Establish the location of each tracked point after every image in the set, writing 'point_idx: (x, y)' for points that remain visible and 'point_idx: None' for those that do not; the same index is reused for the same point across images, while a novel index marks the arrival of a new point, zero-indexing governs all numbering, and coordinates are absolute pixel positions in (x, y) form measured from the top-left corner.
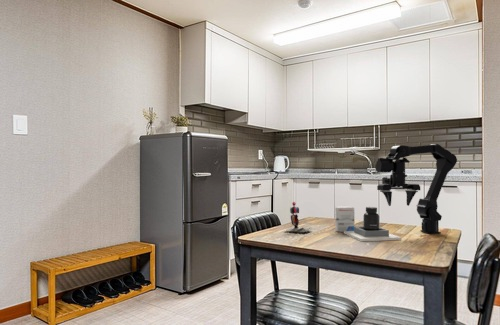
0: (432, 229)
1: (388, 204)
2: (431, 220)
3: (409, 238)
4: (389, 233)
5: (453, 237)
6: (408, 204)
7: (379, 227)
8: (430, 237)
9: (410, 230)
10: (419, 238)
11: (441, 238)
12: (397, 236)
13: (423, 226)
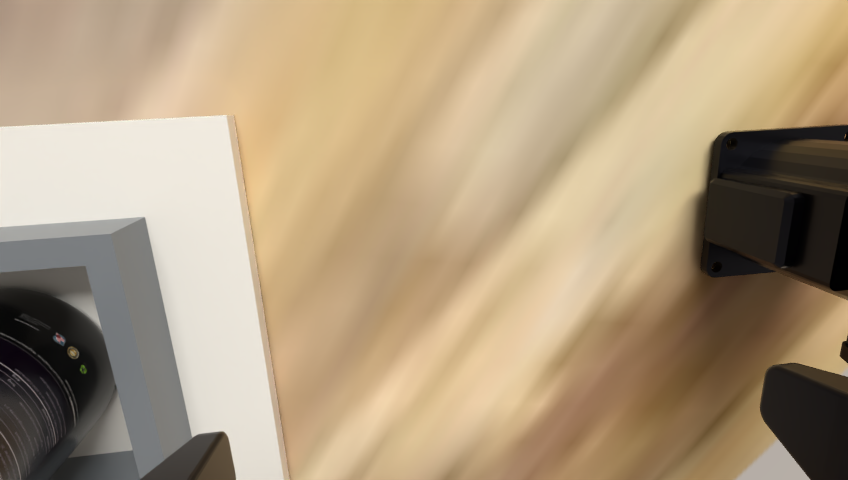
0: (778, 272)
1: (174, 471)
2: (840, 354)
3: (399, 448)
4: (260, 338)
5: None
6: (785, 447)
7: (123, 332)
8: (603, 415)
9: (656, 52)
10: (485, 449)
11: (660, 453)
12: (277, 478)
13: (744, 226)
